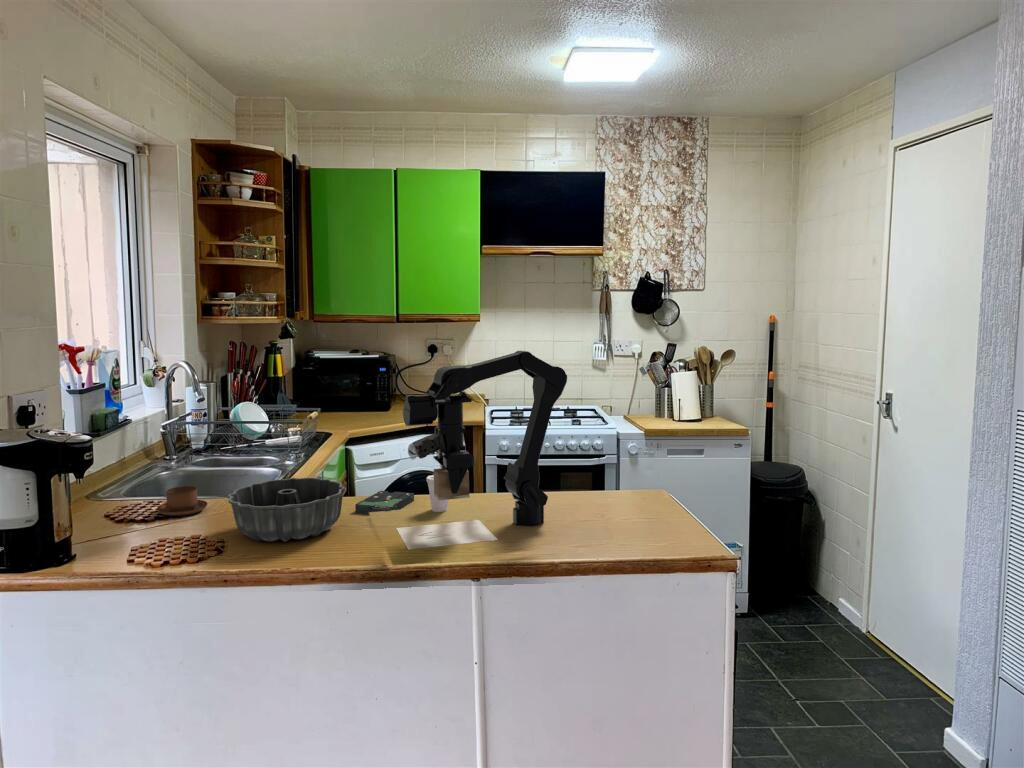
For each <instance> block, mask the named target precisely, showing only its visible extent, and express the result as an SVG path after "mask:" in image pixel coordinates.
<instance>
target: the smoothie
mask: <svg viewBox="0 0 1024 768" xmlns="http://www.w3.org/2000/svg"><path fill="white" fill-rule="evenodd" d="M439 469H442V468H441V465H440V464H439ZM426 482H427V486H428V492H429V501H430V505H431V506H430V507H431V511H432V512H435V513H443V512H447V511H448V507H449V500H450V499H448V500H438V499H437V498H436V497H435V495H434V474H432V475H427V477H426Z"/></svg>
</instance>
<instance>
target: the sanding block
mask: <svg viewBox="0 0 1024 768" xmlns="http://www.w3.org/2000/svg"><path fill="white" fill-rule="evenodd" d="M433 475H434V495H435V497H436V498H437V499H438V500H448V499H449V500H457V499H467V498H470V471H469V470H467V472H466V474H465V476H464V478H463V480H462V483H461V485H460V487H459V490H458V492H457V493H455V494H453V493H452V491H451V486H450V480H449V475H448V471H447V470H446V469H445V468H442V469H440V468H434V469H433ZM449 500H448V501H449Z"/></svg>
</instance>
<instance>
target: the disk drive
mask: <svg viewBox="0 0 1024 768" xmlns="http://www.w3.org/2000/svg"><path fill="white" fill-rule="evenodd" d="M413 502H415V492H401V491H393V492H389V491H388V490H387V491H386V490H380V491H377V492H376V493H374V494H371V495H370V496H368V497H366V498H365V499H363V500H361V501H359V502H357V503H355V513H356V512H357V513H358V514H369V513H378V512H379V513H380V512H387V511H389V512H392V511H400V510H401V509H404V508H405V507H407V506H409V505H410V504H411V503H413Z"/></svg>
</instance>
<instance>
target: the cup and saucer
mask: <svg viewBox="0 0 1024 768" xmlns="http://www.w3.org/2000/svg"><path fill="white" fill-rule="evenodd" d="M165 493H166V494H165V495H166V503H162V504H160V505H158V506H157V508H156V510H157V512H158V513H159V514H161V515H163V516H167V517H181V516H188V515H194V514H196V513H199V512H201V511H203V510H205V509H206V507H207V506H208V502H207V501H206V500H203V499H198V488H197V487H196V486H192V485H191V486H189V485H185V486H175V487H172V488H169V489H166V491H165Z"/></svg>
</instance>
